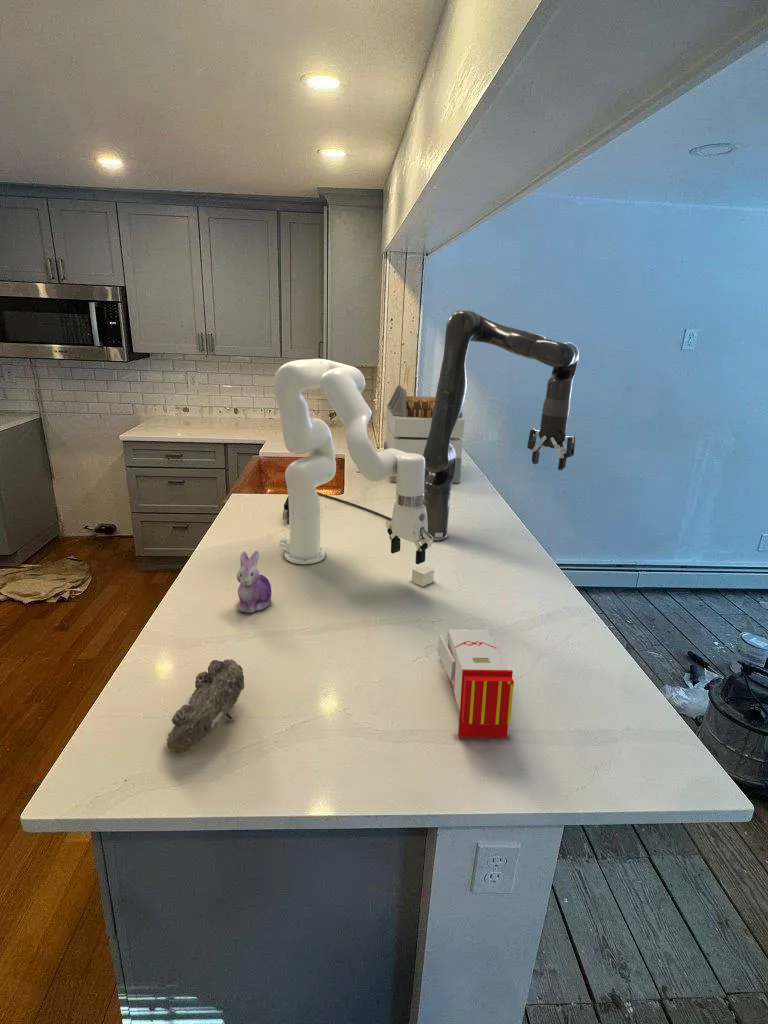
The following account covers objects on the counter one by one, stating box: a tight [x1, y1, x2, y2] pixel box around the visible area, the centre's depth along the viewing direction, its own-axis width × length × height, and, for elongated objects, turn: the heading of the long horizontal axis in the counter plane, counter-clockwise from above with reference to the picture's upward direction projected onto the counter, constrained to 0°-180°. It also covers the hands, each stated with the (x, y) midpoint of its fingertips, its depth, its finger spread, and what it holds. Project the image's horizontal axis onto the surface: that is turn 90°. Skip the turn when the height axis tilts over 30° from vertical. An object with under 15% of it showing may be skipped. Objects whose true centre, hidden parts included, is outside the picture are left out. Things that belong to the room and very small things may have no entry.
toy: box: [437, 628, 515, 738], centre depth 117 cm, size 12×13×30 cm
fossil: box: [166, 658, 245, 754], centre depth 106 cm, size 22×10×15 cm
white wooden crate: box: [383, 384, 465, 484], centre depth 268 cm, size 34×33×41 cm
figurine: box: [236, 550, 272, 614], centre depth 146 cm, size 9×10×15 cm
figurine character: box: [282, 496, 289, 524], centre depth 208 cm, size 7×8×15 cm
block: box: [411, 564, 435, 588], centre depth 165 cm, size 4×5×4 cm
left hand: (407, 557), depth 159 cm, fingers open, 9 cm apart
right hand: (547, 466), depth 172 cm, fingers open, 8 cm apart
